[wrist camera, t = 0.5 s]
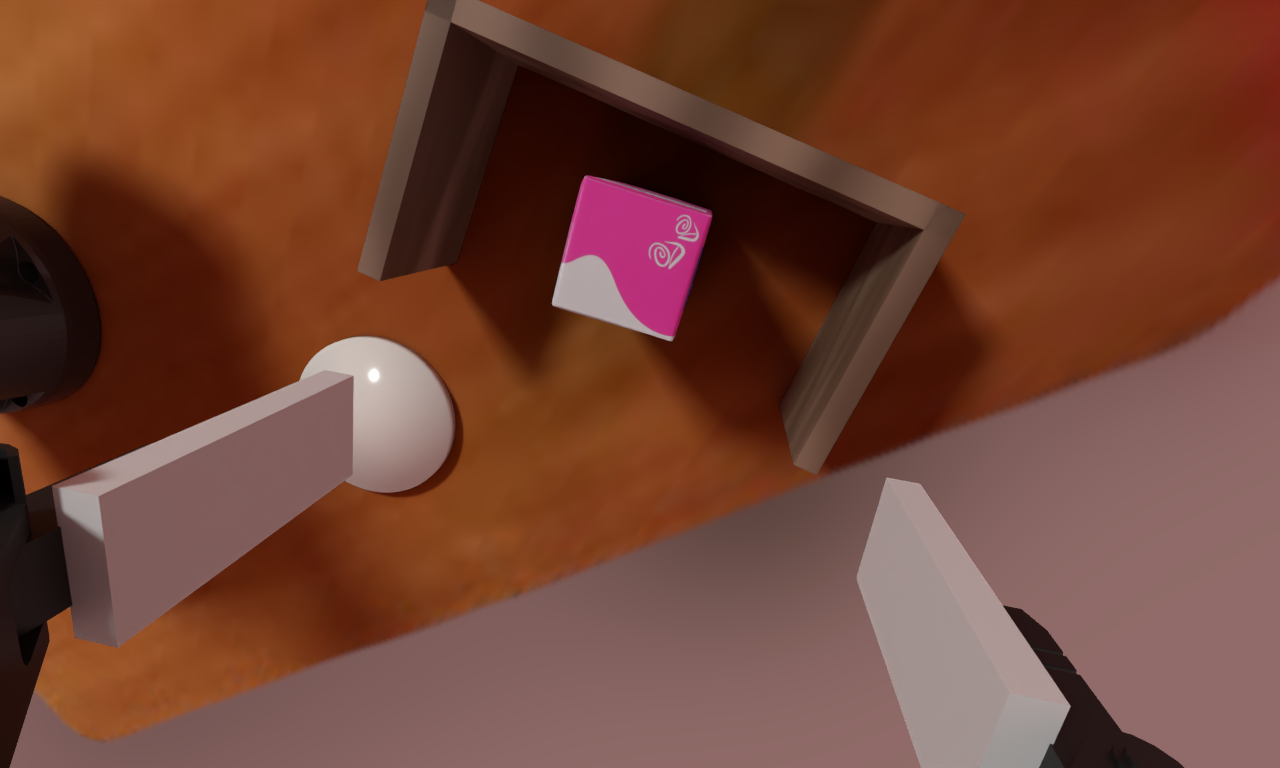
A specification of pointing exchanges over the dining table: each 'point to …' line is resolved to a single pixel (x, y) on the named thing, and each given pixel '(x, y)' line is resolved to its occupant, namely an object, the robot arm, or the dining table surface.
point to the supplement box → (631, 256)
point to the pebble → (391, 412)
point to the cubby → (498, 42)
